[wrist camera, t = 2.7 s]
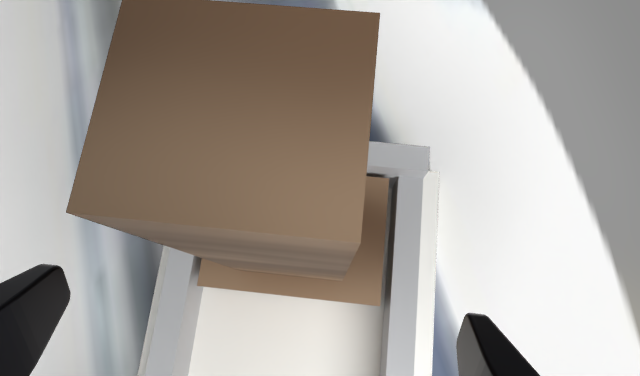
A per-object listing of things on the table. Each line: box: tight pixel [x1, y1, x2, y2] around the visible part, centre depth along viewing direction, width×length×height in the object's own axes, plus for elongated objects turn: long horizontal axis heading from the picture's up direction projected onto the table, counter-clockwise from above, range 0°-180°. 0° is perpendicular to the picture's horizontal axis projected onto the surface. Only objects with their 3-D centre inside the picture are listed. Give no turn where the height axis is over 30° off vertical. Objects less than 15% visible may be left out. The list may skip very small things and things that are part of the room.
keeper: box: [66, 0, 389, 306], centre depth 12 cm, size 5×7×13 cm
